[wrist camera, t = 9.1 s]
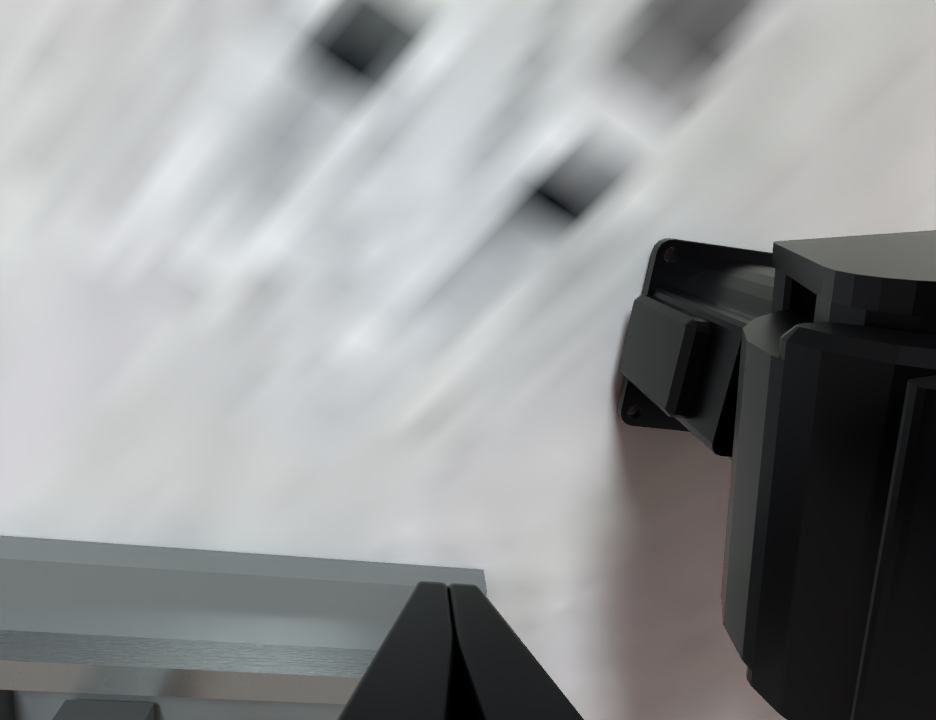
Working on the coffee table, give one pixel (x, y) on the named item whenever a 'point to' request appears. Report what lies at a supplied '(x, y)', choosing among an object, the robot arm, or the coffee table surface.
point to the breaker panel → (193, 628)
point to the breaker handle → (104, 710)
